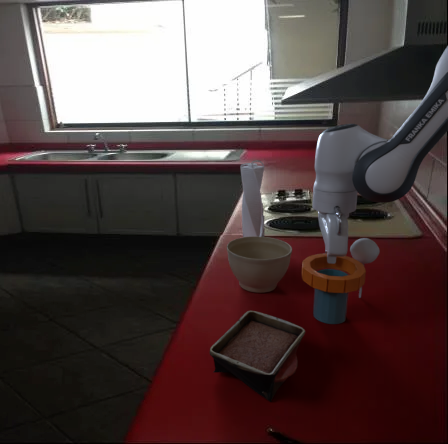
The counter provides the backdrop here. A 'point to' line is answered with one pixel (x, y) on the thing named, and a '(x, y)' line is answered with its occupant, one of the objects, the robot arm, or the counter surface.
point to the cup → (330, 302)
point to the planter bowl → (258, 262)
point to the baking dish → (259, 351)
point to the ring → (333, 282)
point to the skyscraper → (252, 200)
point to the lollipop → (364, 252)
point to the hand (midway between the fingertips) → (330, 259)
